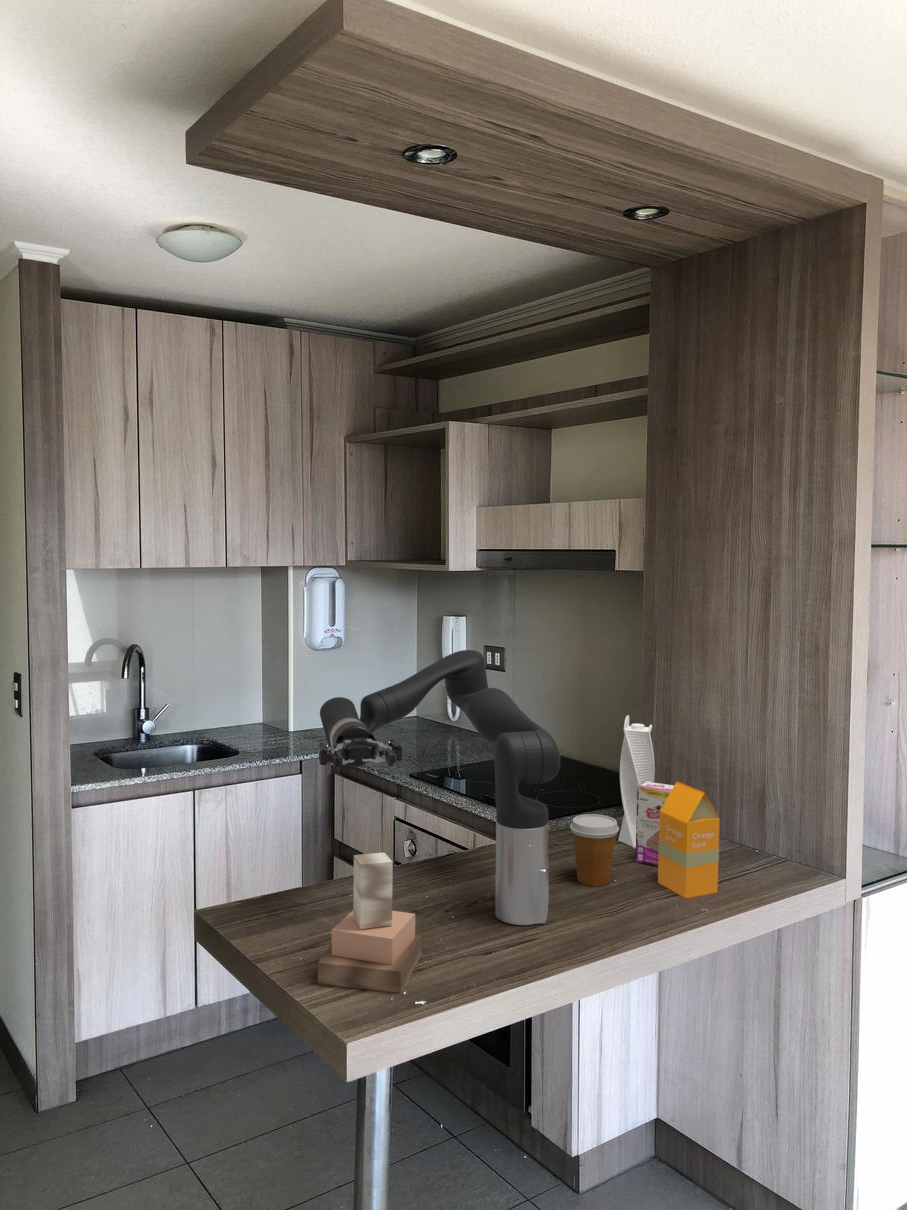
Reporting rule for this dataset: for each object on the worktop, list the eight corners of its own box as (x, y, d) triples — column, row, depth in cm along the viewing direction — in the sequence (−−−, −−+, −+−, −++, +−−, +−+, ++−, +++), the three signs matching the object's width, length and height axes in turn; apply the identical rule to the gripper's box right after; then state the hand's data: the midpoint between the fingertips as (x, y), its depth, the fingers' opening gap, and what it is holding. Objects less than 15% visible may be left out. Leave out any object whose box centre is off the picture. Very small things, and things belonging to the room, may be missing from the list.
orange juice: (685, 898, 178) (687, 794, 176) (656, 882, 186) (659, 782, 184) (718, 892, 181) (721, 789, 179) (689, 876, 189) (692, 778, 187)
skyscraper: (610, 839, 212) (612, 715, 209) (637, 834, 215) (639, 712, 213) (632, 850, 205) (635, 722, 202) (659, 845, 208) (662, 719, 206)
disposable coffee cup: (586, 868, 194) (587, 810, 193) (627, 879, 187) (628, 820, 186) (559, 880, 186) (560, 821, 185) (601, 893, 180) (602, 831, 179)
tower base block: (421, 958, 154) (421, 934, 153) (400, 997, 141) (400, 971, 141) (344, 950, 156) (344, 927, 156) (317, 988, 144) (317, 962, 143)
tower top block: (415, 938, 152) (415, 913, 152) (392, 964, 143) (392, 938, 142) (357, 929, 155) (357, 905, 155) (331, 955, 146) (331, 929, 145)
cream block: (383, 914, 152) (384, 852, 151) (392, 925, 147) (392, 861, 147) (353, 917, 150) (353, 855, 150) (360, 929, 145) (361, 864, 145)
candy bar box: (634, 862, 197) (635, 785, 196) (643, 855, 201) (644, 780, 200) (686, 873, 191) (688, 793, 190) (694, 866, 195) (696, 788, 194)
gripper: (390, 759, 176) (407, 781, 160) (313, 763, 172) (323, 786, 157) (390, 719, 175) (407, 737, 160) (313, 722, 172) (323, 741, 156)
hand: (365, 761), depth 158 cm, fingers open, 8 cm apart
